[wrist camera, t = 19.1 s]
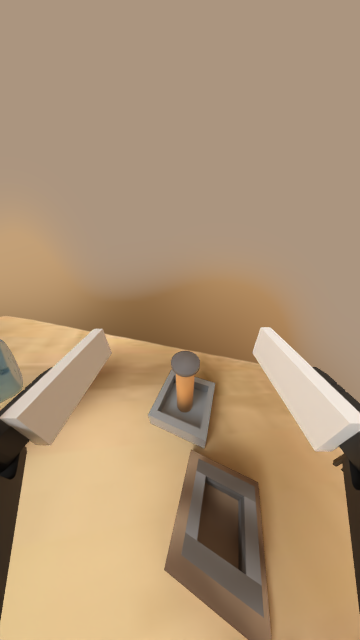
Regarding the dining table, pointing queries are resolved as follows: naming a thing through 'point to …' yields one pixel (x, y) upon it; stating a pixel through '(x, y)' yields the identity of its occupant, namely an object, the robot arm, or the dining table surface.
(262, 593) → the grey square socket
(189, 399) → the lock pin
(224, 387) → the dining table surface
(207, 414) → the tray
